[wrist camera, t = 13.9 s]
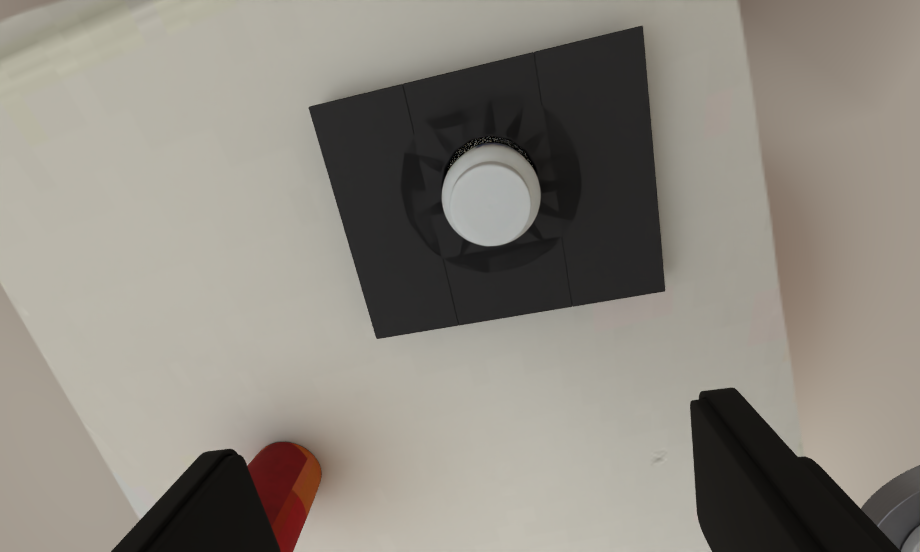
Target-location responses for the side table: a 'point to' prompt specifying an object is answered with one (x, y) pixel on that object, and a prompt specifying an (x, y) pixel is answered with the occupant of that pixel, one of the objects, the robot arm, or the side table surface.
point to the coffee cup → (286, 488)
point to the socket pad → (554, 161)
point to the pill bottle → (491, 195)
